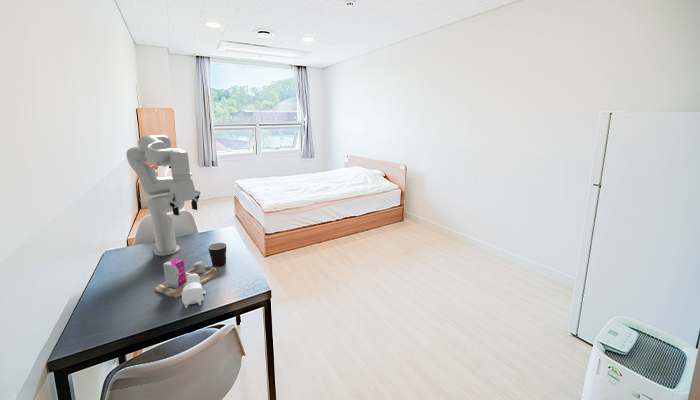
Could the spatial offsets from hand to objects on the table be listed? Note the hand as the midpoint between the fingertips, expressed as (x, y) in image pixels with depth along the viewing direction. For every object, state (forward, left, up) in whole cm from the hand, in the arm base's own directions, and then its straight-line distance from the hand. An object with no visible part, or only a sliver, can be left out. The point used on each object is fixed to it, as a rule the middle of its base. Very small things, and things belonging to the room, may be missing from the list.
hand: (185, 212), depth 152 cm
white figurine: (+24, -19, -29) cm, 43 cm away
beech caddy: (+11, -11, -29) cm, 33 cm away
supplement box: (+11, -17, -28) cm, 34 cm away
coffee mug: (+9, +9, -29) cm, 32 cm away
